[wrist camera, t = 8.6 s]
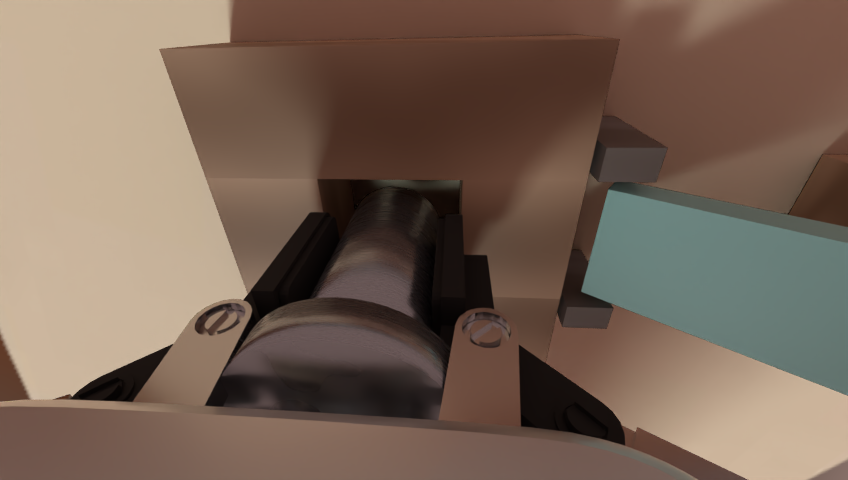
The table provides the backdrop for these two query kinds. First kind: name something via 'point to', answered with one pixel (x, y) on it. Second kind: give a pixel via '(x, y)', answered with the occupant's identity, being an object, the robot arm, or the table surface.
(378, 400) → the pin
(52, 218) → the table surface
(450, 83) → the hitch block
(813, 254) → the latch lever
